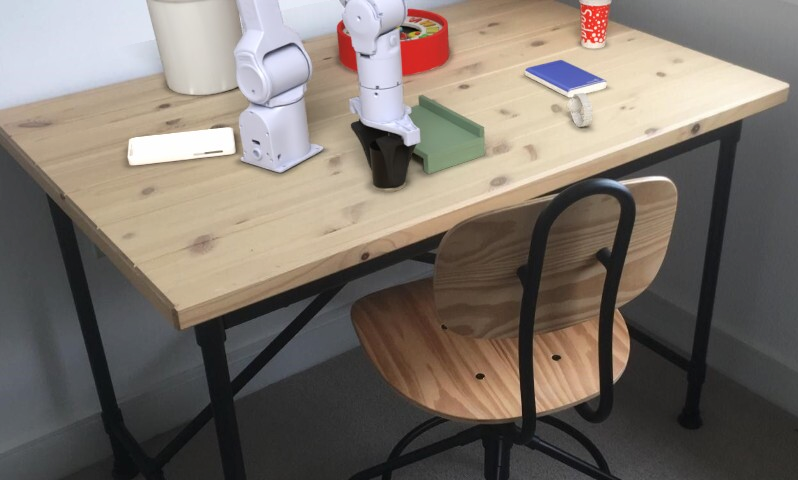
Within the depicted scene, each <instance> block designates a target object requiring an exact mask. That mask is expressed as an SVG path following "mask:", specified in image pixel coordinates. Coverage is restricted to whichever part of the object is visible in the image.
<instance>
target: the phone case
mask: <svg viewBox="0 0 798 480" xmlns="http://www.w3.org/2000/svg"><path fill="white" fill-rule="evenodd" d="M127 147H128V148H127V160H128V164H129V166H142V165H151V164H152V165H153V164H161V163H168V162H178V161H185V160H186V161H187V160H195V159H202V158H209V157H210V158H212V157H220V156H230V155H234V154H236V153H237V147H236V141H235V133H234V128H233V127H228V126H227V127H219V128H210V129H201V130H191V131H183V132H182V131H181V132H173V133H163V134H154V135H144V136H135V137H131V138H129V139H128V146H127ZM221 151H222V152H221Z"/></svg>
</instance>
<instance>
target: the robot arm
mask: <svg viewBox="0 0 798 480" xmlns="http://www.w3.org/2000/svg"><path fill="white" fill-rule="evenodd" d="M339 2H340V4H341V5H342V7H343V8H344V11H343V12H341V20H343V22H344V25H345V27H346V29H347V30H348V32H349V33H350V36H351V39H352V47H354V50H355V51H356V59H357V70H358V72H357V79H358V91H359V96H355V97H352V98H349V99H348V103H349V112H350V113H351V114H353V115H356V114H357V116H358V120H356V121H353V122H351V123H350V129H351V130H352V132H353V133H354V134H355V136H356V137H357V140H358V141H359V143H360V145H361V147H362V149H363V153H364V155H365V158H366V161H367V163H368V164H367V165H368V167H369V169H370V171H371V172H372V168H371V156H370V144H371V143H372V142H373V141H375V140H376V142H377V144H378V146H379V147H380V149H381V151H382V153H383V156H384V159H385V163H386V168H387V173H388V178H389V181H390V183H391V184H392V185H396V184H399V183H402V182H406V180H407V175H408V170H409V165H410V161H411V158H412V155H413V154H414V153H413V150H414V148H415V146H416V145H417V143H420V129H419V128H417V127H416V126H415V125H414V124H413V122H412V120H411V119H410V117H409V116H408V114H411V112H412V111H411V108H410V107H411V106H409V105H407V104H405V96H404V95H405V94H404V81H403V75H402V63H401V48H400V33H399V28H398V27H399V26H401V25H402V24H403V23H404V22H405V20H406V18H407V9H408V4H407V0H339ZM236 3H237V7H238V10H239V15H240V21H241V26H242V27H243V28H242V29H243V32H242V37H241V39H240V41H239V42H238V44H237V46H236V48H235V49H234V52H233V53H234V57H235V61H236V80H237V84H238V88H239V91H240V92H241V93H242V94H243V96H244V97H245V98H246V99H247V100H248V102H249V103H250V104H249V105H248V107H247V108H245V109H244V110H242V111H241V113H240V114H239V117H238V129H239V135H240V140H241V146H242V152H243V156H241V157H240V162H243V163H247V164H249V165H253V166H256V167H260V168H262V169H266V170H268V171H272V172H276V173H279V174H280V173H281V174H282V173H284V172H285V171H287V170H289V169H291V168H293V167H294V166H296V165H298V164H300V163H302V162H304V161H307V159H309V158H311V157H313V156H315V155H316V154H319V153H320V152H323V151H324V146H322V145H319V144H316V143H313V142H311V141H310V133H309V125H308V117H307V108H306V101H305V93H306V92H307V91H308V89H307V88H308V87H307V84H308V83H309V82H310V81H311V79H312V77H313V74H314V73H313V72H314V71H313V68H314V67H313V63H312V60H311V58H310V55H309V53H308V52H307V50H306V49H305V46H304V45H303V42H302V39H301V35H300V33H298V31H295V30H294V29H292V28H291V27H288V26H287V25H286V24H285V23H284V19H283V15H282V12H281V8H280V4H279V0H236ZM396 28H398V29H396ZM394 29H395V30H394ZM388 135H389V136H388Z"/></svg>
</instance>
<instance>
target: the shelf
mask: <svg viewBox="0 0 798 480" xmlns="http://www.w3.org/2000/svg"><path fill="white" fill-rule="evenodd" d="M417 96H418V98H417V99H418V104H417V105H414V106H409V107H410V108H411V111H412V112H411V114H408V116H409V117H410V119H411V120H412V122H413V124H414V125H415V126H416V127H417V128H419V129H420V143H417V145H416V146H415V148H414V150H413V153H412V154H415V155H417V156H419V157H420V158H421V159H423V172H424V173H426V174H428V175H430V174H433V173H437V172H439V171H442V170H445V169H448V168H452V167H454V166H457V165H461V164H463V163H467V162H469V161H472V160H475V159H478V158H481V157H484V156H485V155H486V153H485V151H486V150H485V149H486V148H485V145H486V144H485V127H484V126H483V125H481V124H479V123H477V122H476V121H473V120H472V119H470V118H468V117H466V116H463V115H462V114H460V113H458V112H456V111H454V110H452V109H450V108H448V107H447V106H444V105H443V104H441V103H439V102H437V101H435V100H433V99H432V98H430V97H428V96H426V95H424V94H420V95H417ZM388 136H389V135H388Z"/></svg>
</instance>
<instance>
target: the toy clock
mask: <svg viewBox="0 0 798 480" xmlns="http://www.w3.org/2000/svg"><path fill="white" fill-rule="evenodd" d="M398 28H399V33H400V48H401V63H402V76H410V75H411V76H412V75H417V74H421V73H425V72H429V71H432V70H434V69H437V68H440V67H441V66H442V65H444V64H445V63H446V62H447V61H448V60H449V58H450V41H449V23H448V20H447V19H446V18H445V17H444V16H443V15H440V14H438V13H435V12H432V11H429V10H424V9H417V8H407V18H406V20H405V22H404V23H403V24H402V25H401V26H399V27H398ZM398 28H396V29H398ZM394 30H395V29H394ZM336 34H337V46H338V56H339V63H340V64H341V65H342V66H343V67H344V68H346V69H347V70H349V71H353V72H355V73H358V70H357V59H356V51H355V50H354V47H352V39H351V36H350V33H349V32H348V30H347V29H346V27H345V25H344V22H343V19H341V20H340V21H339V22H338V23H337V25H336Z"/></svg>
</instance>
